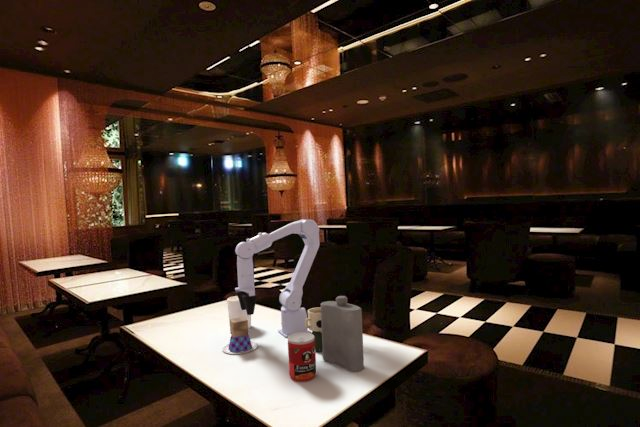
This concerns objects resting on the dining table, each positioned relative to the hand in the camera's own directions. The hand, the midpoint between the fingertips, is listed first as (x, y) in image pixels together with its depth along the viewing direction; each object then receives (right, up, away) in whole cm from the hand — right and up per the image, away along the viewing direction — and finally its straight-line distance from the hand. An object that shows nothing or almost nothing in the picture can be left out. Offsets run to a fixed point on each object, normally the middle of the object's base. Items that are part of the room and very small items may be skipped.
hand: (247, 311), depth 132 cm
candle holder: (-6, -11, +15) cm, 20 cm away
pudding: (-1, -11, -7) cm, 13 cm away
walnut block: (-1, -6, -7) cm, 9 cm away
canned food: (+22, -10, -30) cm, 38 cm away
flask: (+34, -9, -23) cm, 42 cm away
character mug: (+27, -10, -11) cm, 30 cm away
